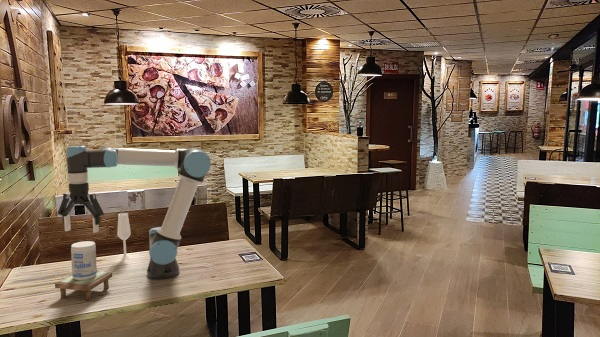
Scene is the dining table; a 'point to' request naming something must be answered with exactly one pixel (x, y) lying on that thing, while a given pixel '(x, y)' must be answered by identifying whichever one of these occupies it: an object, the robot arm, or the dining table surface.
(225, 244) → the dining table surface
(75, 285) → the small wooden table
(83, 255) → the supplement tub
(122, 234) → the champagne flute
